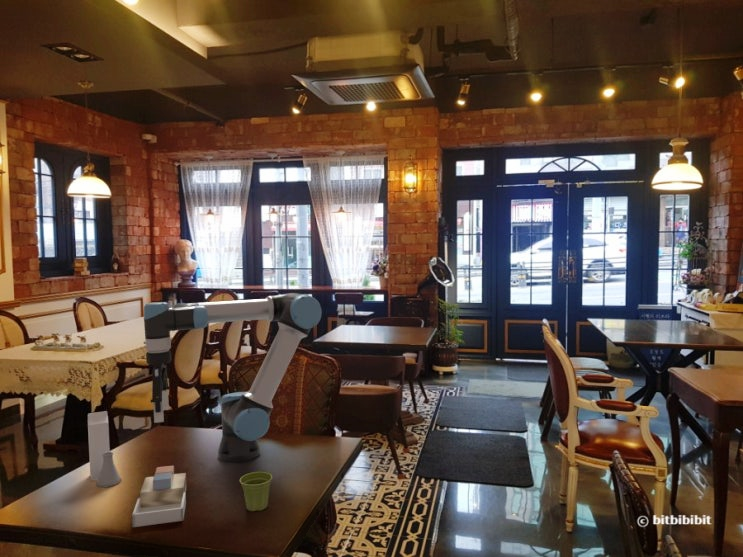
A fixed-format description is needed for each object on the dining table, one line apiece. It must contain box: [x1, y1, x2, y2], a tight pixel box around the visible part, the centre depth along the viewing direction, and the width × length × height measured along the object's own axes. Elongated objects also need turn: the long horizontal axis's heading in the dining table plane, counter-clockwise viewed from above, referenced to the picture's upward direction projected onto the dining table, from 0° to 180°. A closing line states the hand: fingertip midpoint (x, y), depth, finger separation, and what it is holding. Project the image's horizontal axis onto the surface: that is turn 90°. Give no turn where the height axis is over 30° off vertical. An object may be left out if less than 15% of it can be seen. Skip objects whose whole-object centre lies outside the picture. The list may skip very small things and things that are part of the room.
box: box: [131, 491, 187, 528], centre depth 159 cm, size 13×11×4 cm
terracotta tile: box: [154, 465, 175, 479], centre depth 173 cm, size 5×5×3 cm
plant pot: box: [239, 471, 273, 512], centre depth 163 cm, size 9×9×9 cm
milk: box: [87, 410, 111, 482], centre depth 188 cm, size 6×6×22 cm
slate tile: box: [153, 472, 173, 490], centre depth 167 cm, size 5×5×3 cm
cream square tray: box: [139, 472, 187, 508], centre depth 170 cm, size 12×12×5 cm
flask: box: [95, 451, 122, 488], centre depth 182 cm, size 7×7×10 cm
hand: (161, 415), depth 180 cm, fingers open, 13 cm apart
